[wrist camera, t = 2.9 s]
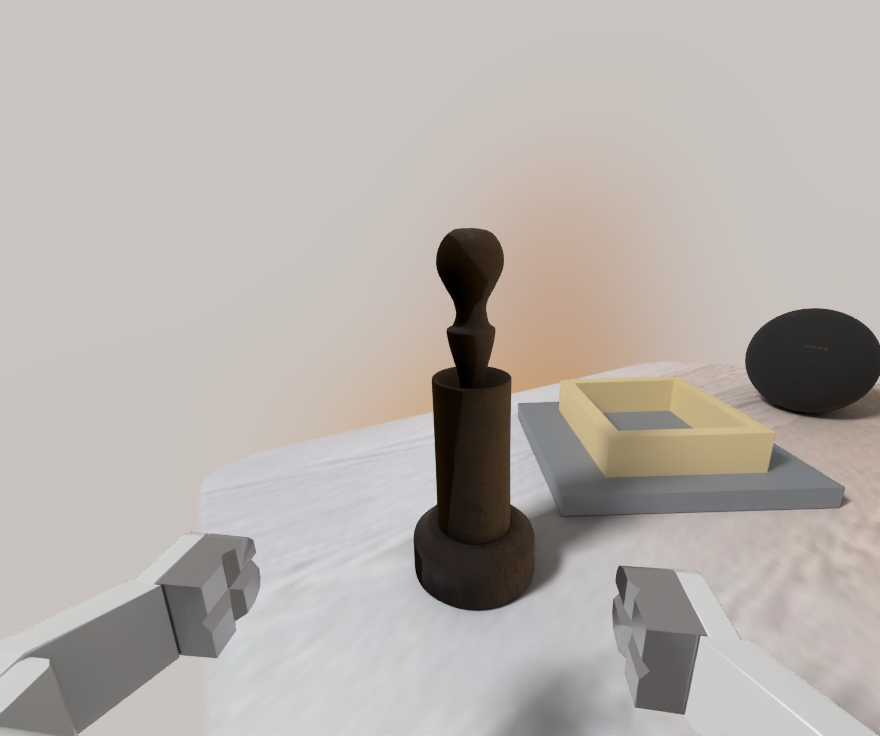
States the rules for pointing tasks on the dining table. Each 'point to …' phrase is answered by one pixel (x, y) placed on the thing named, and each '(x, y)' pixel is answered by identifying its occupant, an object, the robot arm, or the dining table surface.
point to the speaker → (813, 360)
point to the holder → (663, 452)
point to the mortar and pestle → (472, 448)
